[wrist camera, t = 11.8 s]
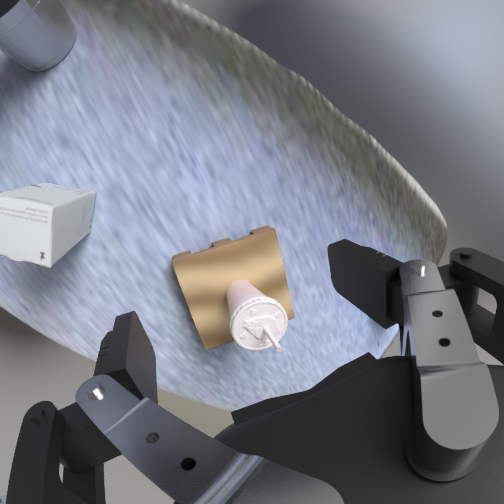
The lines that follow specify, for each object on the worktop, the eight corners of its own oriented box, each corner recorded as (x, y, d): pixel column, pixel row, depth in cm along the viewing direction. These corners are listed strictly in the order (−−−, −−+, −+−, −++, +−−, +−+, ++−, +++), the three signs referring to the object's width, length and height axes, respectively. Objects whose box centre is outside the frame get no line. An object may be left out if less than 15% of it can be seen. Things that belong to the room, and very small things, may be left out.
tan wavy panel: (171, 256, 40) (172, 262, 37) (268, 225, 42) (275, 229, 39) (202, 339, 44) (205, 350, 41) (287, 309, 47) (294, 317, 44)
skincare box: (97, 190, 34) (59, 203, 21) (90, 235, 36) (53, 271, 22) (43, 181, 32) (-13, 191, 18) (38, 225, 33) (-16, 254, 19)
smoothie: (252, 317, 42) (289, 377, 29) (210, 308, 40) (232, 370, 27) (269, 276, 41) (314, 325, 28) (225, 264, 39) (255, 313, 26)
